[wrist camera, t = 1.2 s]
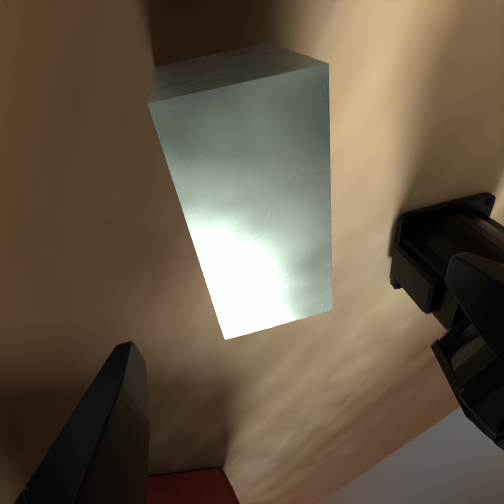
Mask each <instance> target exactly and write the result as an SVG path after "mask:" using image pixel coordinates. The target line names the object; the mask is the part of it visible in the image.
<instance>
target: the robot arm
mask: <svg viewBox="0 0 504 504" xmlns="http://www.w3.org/2000/svg"><path fill="white" fill-rule="evenodd" d="M494 202H495V196H494V195H492V194H491V193H489V192H485V193H481V194H478V195H474V196H470V197H466V198H462V199H458V200H454V201H450V202H446V203H442V204H438V205H434V206H430V207H426V208H423V209H419V210H415V211H411V212H407V213H404V214H403V215H402V216H401V217H400V218H399V221H398V228H397V236H396V243H395V247H394V252H393V259H392V267H391V281H390V284H391V285H392V286H393V288H394V289H400V288H403V289H404V290H405V291H406V292H407V294H408V295H409V296H410V297H411V298H412V300H413V301H414V302H415V303H416V304H417V305H418V307H419V308H420V309H421V310H422V311H423V312H424V313H426V314H430V313H432V314H433V315H434V316H435V318H436V319H437V320H438V321H439V322H440V323H441V324H442V326H443V327H444V328H445V329H446V330H447V332H446V333H445V334H444V335H443V336H442V337H441V338H440V339H439V340H438V339H437V340H436V341H435V342H434V343H433V344H432V345H431V348H432V350H433V352H434V354H435V356H436V358H437V360H438V362H439V364H440V366H441V368H442V370H443V372H444V374H445V376H446V378H447V380H448V382H449V384H450V386H451V388H452V390H453V392H454V394H455V396H456V398H457V400H458V402H459V404H460V406H461V408H462V410H463V412H464V414H465V415H466V417H467V418H468V419H469V420H470V421H472V422H473V423H474V424H475V425H476V426H477V427H478V428H479V429H480V430H481V431H482V432H483V433H484V434H485V435H486V436H488V437H489V438H490V439H491V440H493V441H494V443H495V444H496V445H497V446H498V447H500V448H501V449H503V450H504V226H502V225H501V224H499V223H498V222H496V221H495V220H493V219H492V218H490V214H491V211H492V208H493V205H494ZM408 219H409V220H408ZM407 220H408V221H407ZM406 221H407V222H406ZM149 434H150V417H149V401H148V387H147V373H146V364H145V360H144V358H143V356H142V355H141V353H140V351H139V350H138V348H137V346H136V345H135V343H134V342H132V341H129V342H126V343H122V344H118V345H117V346H116V347H115V348H114V349H113V351H112V353H111V354H110V356H109V357H108V359H107V360H106V362H105V363H104V365H103V367H102V368H101V370H100V371H99V373H98V374H97V376H96V377H95V379H94V381H93V382H92V384H91V385H90V387H89V388H88V390H87V391H86V393H85V395H84V396H83V398H82V399H81V401H80V402H79V404H78V405H77V407H76V409H75V410H74V412H73V413H72V415H71V416H70V418H69V419H68V421H67V423H66V424H65V426H64V427H63V429H62V430H61V432H60V433H59V435H58V437H57V438H56V440H55V441H54V443H53V444H52V446H51V447H50V449H49V451H48V452H47V454H46V455H45V457H44V458H43V460H42V461H41V463H40V465H39V466H38V468H37V469H36V471H35V472H34V474H33V475H32V477H31V478H30V480H29V482H28V483H27V485H26V489H25V490H23V491H22V492H21V494H20V495H19V497H18V498H17V500H16V502H15V503H14V504H146V501H147V478H148V456H149Z"/></svg>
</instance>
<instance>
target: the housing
mask: <svg viewBox="0 0 504 504" xmlns="http://www.w3.org/2000/svg"><path fill="white" fill-rule="evenodd" d="M148 106H149V109H150V112H151V115H152V119H153V122H154V125H155V128H156V131H157V134H158V137H159V140H160V143H161V146H162V149H163V152H164V155H165V158H166V161H167V164H168V167H169V170H170V173H171V176H172V179H173V182H174V185H175V188H176V191H177V194H178V197H179V200H180V203H181V206H182V210H183V213H184V216H185V219H186V222H187V225H188V228H189V231H190V234H191V237H192V240H193V243H194V246H195V249H196V252H197V255H198V258H199V261H200V264H201V267H202V270H203V273H204V276H205V279H206V282H207V285H208V288H209V291H210V294H211V297H212V301H213V304H214V307H215V310H216V313H217V316H218V319H219V322H220V325H221V328H222V331H223V334H224V337H225V339H228V338H232V337H236V336H239V335H243V334H247V333H250V332H254V331H258V330H261V329H265V328H269V327H273V326H276V325H280V324H284V323H287V322H291V321H295V320H298V319H302V318H306V317H309V316H313V315H317V314H320V313H324V312H328V311H332V253H331V185H330V117H329V64H328V63H325V62H323V61H320V60H317V59H314V58H311V57H308V56H305V55H303V54H300V53H297V52H294V51H291V50H288V49H285V48H283V47H280V46H277V45H274V44H271V43H263V44H258V45H253V46H249V47H244V48H239V49H235V50H230V51H225V52H220V53H216V54H211V55H206V56H202V57H197V58H192V59H187V60H183V61H178V62H173V63H168V64H164V65H159V66H155V67H154V72H153V78H152V83H151V88H150V93H149V98H148Z"/></svg>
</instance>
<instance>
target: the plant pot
mask: <svg viewBox="0 0 504 504" xmlns="http://www.w3.org/2000/svg"><path fill="white" fill-rule="evenodd" d="M146 504H240V503H239V501H238V499H237V497H236V495H235V492H234V490H233V488H232V486H231V484H230V482H229V480H228V478H227V476H226V474H225V472H224V471H223V470H222V469H208V470H201V471H193V472H185V473H177V474H169V475H161V476H153V477H148V478H147V501H146Z"/></svg>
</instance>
